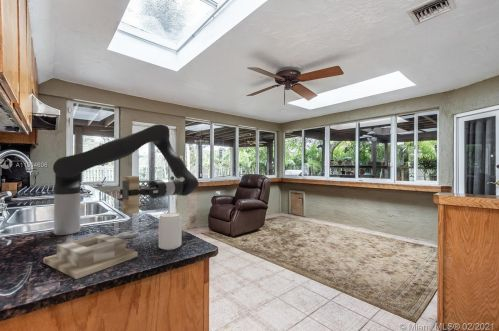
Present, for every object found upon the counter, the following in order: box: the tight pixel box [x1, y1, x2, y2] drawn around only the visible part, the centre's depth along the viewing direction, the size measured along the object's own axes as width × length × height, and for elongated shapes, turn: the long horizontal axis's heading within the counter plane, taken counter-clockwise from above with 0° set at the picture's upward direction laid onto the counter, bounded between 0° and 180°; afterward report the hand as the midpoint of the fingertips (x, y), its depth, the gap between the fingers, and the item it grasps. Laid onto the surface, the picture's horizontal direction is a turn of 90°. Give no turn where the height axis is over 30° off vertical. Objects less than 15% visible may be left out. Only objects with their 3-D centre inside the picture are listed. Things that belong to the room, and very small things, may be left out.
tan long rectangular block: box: [121, 175, 140, 215], centre depth 91 cm, size 4×5×14 cm
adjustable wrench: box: [112, 230, 139, 240], centre depth 94 cm, size 25×6×2 cm, turn 135°
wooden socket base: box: [42, 233, 139, 280], centre depth 76 cm, size 20×18×6 cm
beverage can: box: [158, 212, 183, 251], centre depth 88 cm, size 8×8×12 cm
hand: (124, 192), depth 89 cm, fingers closed on tan long rectangular block, 4 cm apart
